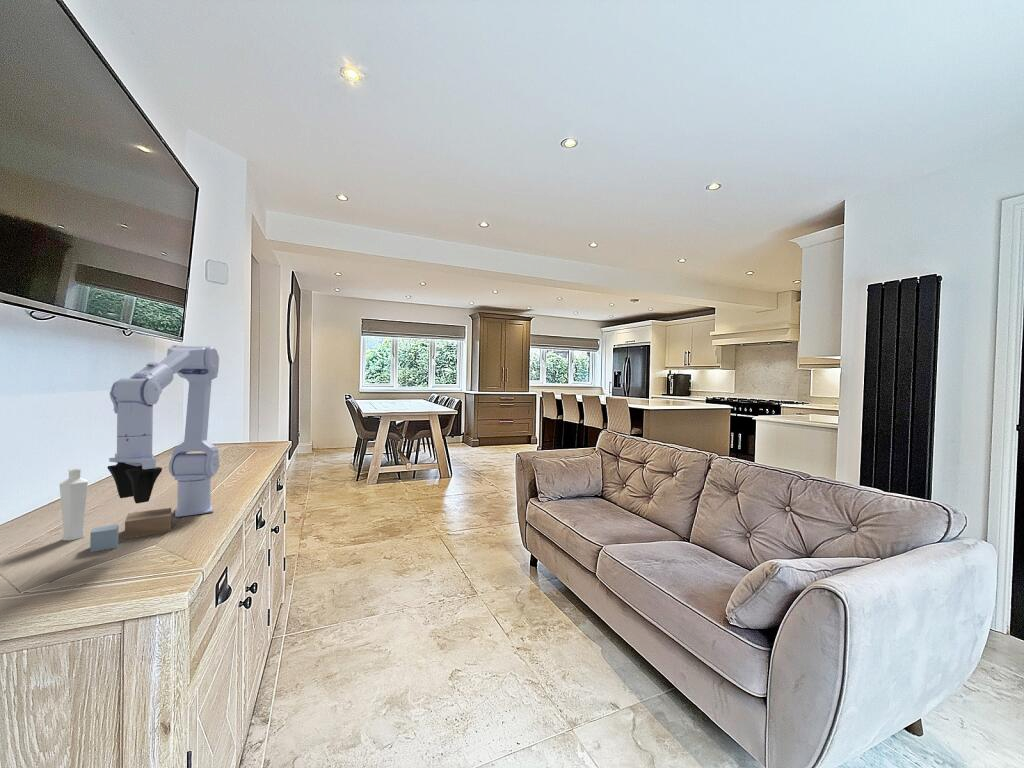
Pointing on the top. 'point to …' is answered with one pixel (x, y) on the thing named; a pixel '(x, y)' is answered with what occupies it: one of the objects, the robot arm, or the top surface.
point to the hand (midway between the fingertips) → (134, 499)
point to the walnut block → (148, 522)
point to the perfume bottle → (73, 505)
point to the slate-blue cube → (104, 537)
